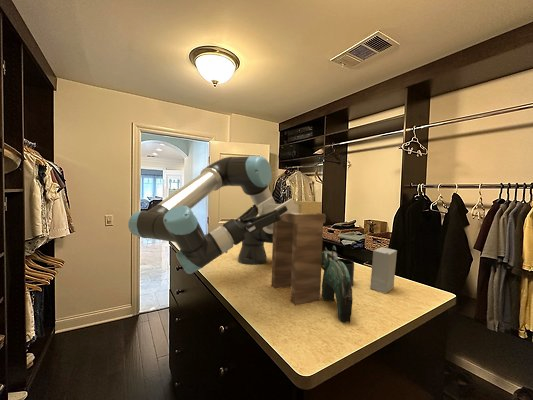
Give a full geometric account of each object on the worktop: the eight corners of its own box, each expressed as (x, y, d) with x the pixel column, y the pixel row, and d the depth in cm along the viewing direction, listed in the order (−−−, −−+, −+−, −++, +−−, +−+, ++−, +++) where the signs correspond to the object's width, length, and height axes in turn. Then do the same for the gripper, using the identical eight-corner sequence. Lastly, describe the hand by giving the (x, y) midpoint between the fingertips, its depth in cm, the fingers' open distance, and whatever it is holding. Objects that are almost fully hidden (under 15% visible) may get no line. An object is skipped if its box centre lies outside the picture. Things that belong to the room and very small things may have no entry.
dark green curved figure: (317, 295, 92) (319, 240, 91) (334, 295, 93) (337, 241, 92) (336, 324, 72) (339, 254, 72) (358, 323, 73) (361, 255, 72)
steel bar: (256, 212, 83) (257, 200, 83) (312, 212, 92) (313, 201, 92) (263, 214, 78) (263, 201, 78) (321, 213, 88) (321, 201, 87)
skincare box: (377, 284, 105) (379, 246, 105) (396, 289, 100) (398, 249, 100) (369, 289, 99) (370, 249, 99) (388, 294, 94) (390, 252, 94)
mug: (321, 282, 105) (321, 261, 105) (338, 277, 112) (339, 257, 112) (340, 290, 97) (341, 267, 97) (357, 283, 105) (358, 262, 104)
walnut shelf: (269, 286, 99) (271, 209, 98) (295, 282, 104) (297, 209, 103) (292, 306, 83) (295, 214, 82) (322, 300, 88) (325, 213, 87)
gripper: (223, 238, 89) (271, 208, 96) (248, 255, 66) (308, 214, 73) (212, 220, 87) (262, 190, 94) (235, 231, 64) (298, 191, 72)
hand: (282, 201), depth 84 cm, fingers open, 13 cm apart
